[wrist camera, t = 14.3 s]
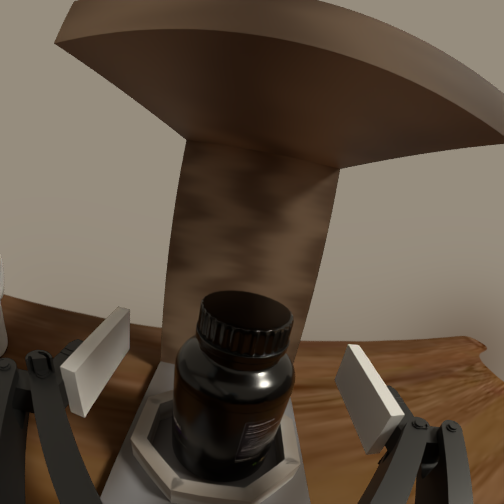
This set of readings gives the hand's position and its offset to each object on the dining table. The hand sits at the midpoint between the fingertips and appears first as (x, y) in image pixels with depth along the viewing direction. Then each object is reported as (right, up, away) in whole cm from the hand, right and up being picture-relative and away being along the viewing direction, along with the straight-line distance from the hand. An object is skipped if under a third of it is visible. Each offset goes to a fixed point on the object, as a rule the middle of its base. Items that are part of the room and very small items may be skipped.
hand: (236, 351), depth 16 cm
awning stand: (-2, -9, +3) cm, 10 cm away
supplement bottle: (-2, -9, +1) cm, 9 cm away
